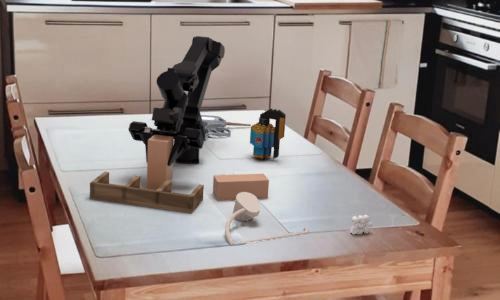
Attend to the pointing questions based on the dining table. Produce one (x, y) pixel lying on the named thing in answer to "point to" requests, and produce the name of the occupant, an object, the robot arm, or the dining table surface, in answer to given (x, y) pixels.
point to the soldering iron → (217, 125)
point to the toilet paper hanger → (249, 215)
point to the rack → (145, 194)
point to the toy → (267, 134)
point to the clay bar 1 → (159, 161)
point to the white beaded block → (360, 224)
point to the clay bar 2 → (240, 185)
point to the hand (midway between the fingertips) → (157, 164)
